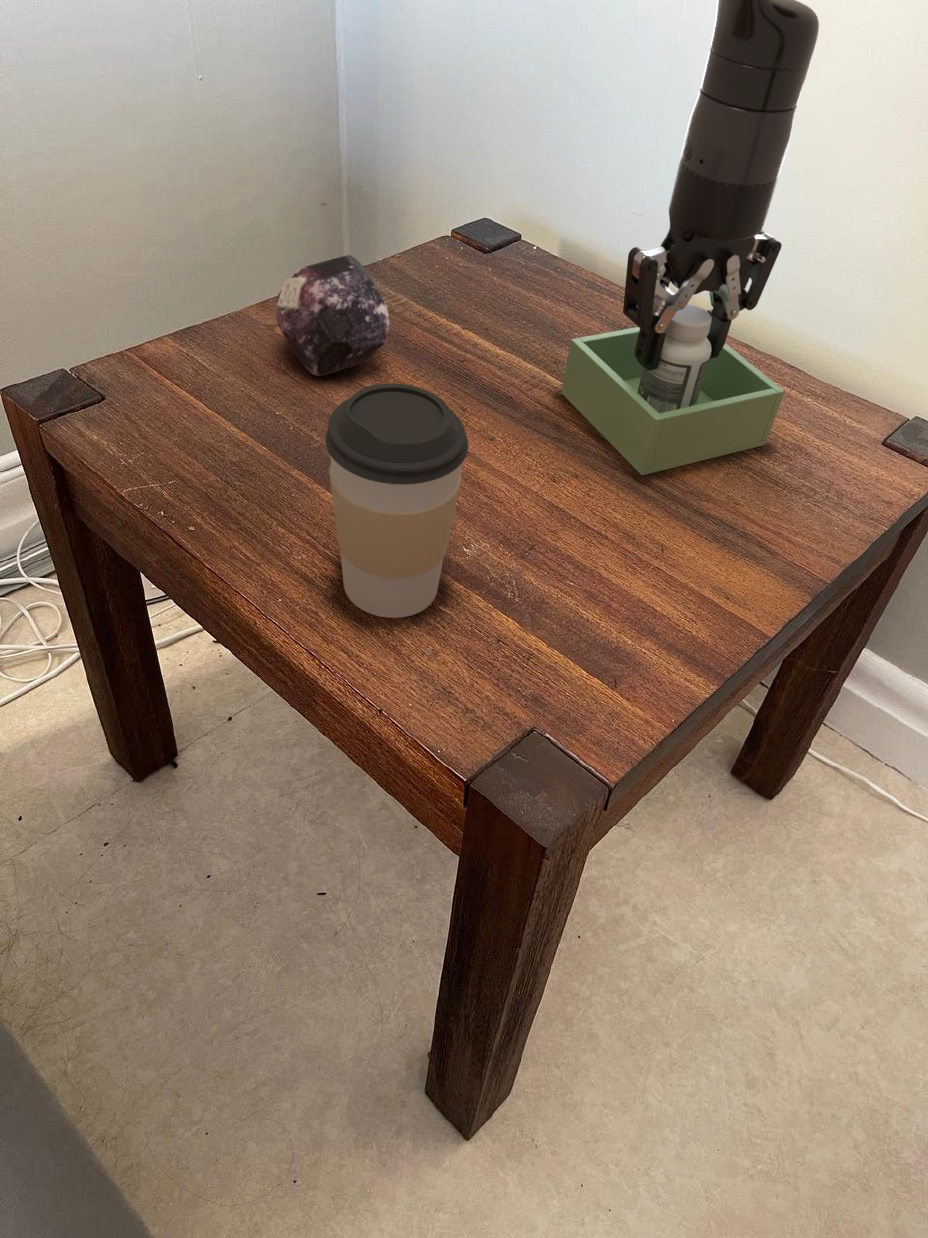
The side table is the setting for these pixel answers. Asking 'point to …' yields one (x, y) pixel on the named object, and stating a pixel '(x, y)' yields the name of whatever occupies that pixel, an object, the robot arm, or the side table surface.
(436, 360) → the side table surface
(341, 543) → the coffee cup
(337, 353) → the mineral specimen
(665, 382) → the pill bottle
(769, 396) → the bin
